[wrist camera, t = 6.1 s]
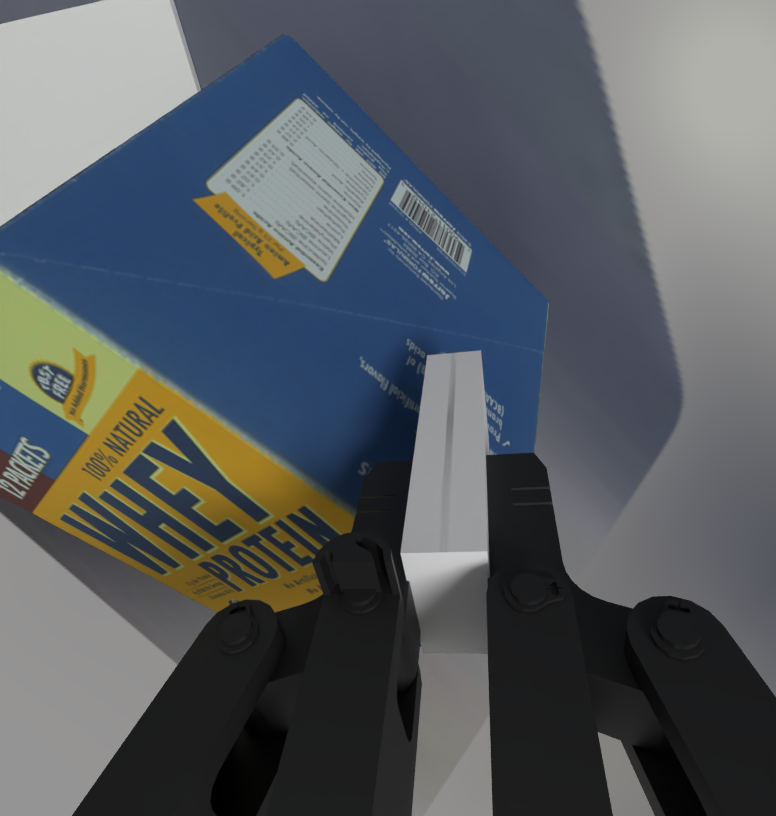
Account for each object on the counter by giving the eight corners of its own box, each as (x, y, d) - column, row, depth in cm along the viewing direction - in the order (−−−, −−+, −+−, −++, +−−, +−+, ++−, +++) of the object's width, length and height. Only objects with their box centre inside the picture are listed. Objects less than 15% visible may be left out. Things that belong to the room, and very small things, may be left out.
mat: (-120, 52, 24) (-127, 53, 24) (169, -13, 22) (165, -14, 22) (88, 418, 35) (84, 421, 35) (295, 400, 33) (294, 404, 33)
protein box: (406, 397, 32) (316, 671, 22) (174, 209, 27) (-90, 453, 16) (556, 300, 25) (531, 636, 15) (284, 20, 20) (-55, 239, 9)
